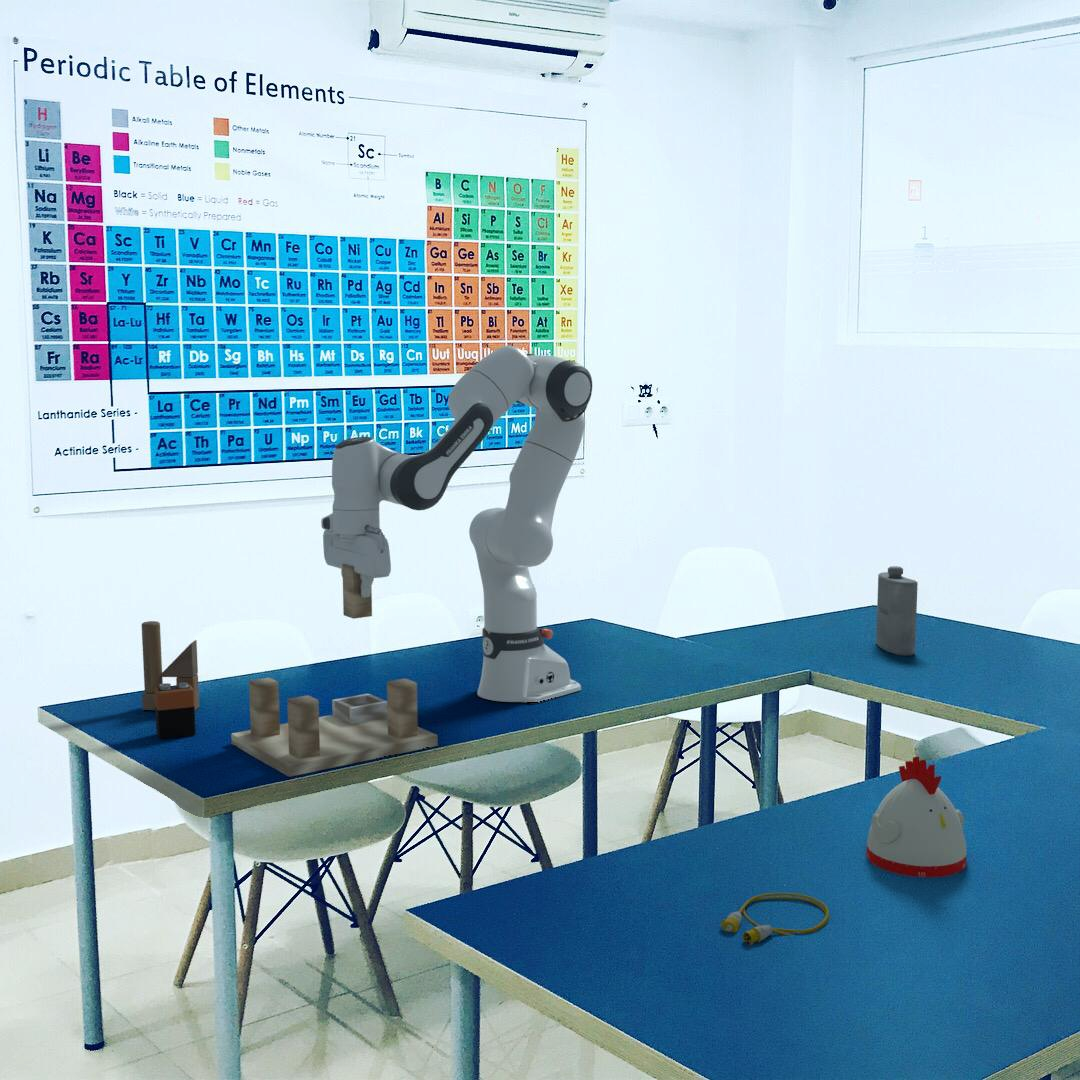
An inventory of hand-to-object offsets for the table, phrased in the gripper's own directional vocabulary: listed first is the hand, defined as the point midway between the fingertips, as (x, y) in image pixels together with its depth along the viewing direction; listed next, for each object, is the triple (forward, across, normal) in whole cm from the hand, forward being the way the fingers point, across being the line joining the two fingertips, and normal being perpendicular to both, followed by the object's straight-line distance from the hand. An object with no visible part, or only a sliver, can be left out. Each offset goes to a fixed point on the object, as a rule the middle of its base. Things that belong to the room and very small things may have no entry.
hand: (357, 594), depth 259 cm
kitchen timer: (+26, -108, -31) cm, 115 cm away
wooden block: (+26, +34, +25) cm, 50 cm away
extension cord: (+26, -110, 0) cm, 113 cm away
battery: (+26, +16, +31) cm, 44 cm away
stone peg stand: (+26, -8, +10) cm, 29 cm away
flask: (+26, -19, -135) cm, 139 cm away
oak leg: (+4, 0, 0) cm, 4 cm away
